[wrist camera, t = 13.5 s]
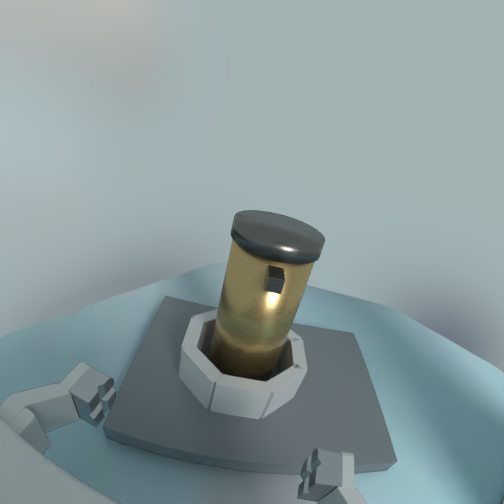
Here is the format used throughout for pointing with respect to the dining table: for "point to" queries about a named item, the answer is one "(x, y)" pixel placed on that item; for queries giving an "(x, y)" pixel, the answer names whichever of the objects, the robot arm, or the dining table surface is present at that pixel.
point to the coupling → (261, 291)
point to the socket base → (248, 400)
